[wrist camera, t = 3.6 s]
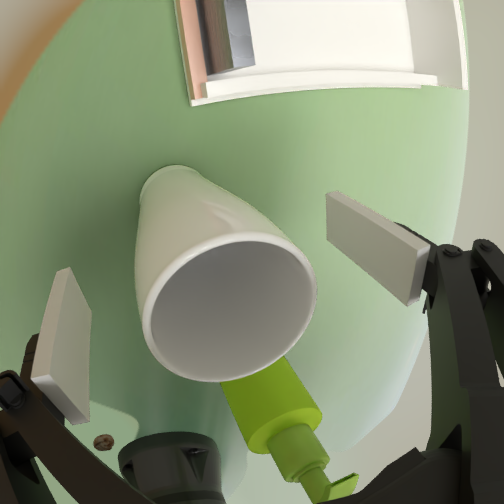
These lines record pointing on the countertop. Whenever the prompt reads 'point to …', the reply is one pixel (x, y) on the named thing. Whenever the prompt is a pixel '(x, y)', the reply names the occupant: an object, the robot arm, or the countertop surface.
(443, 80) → the pusher lane
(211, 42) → the pusher plate
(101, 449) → the walnut
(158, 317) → the white tumbler cup
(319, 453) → the soap dispenser
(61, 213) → the countertop surface
